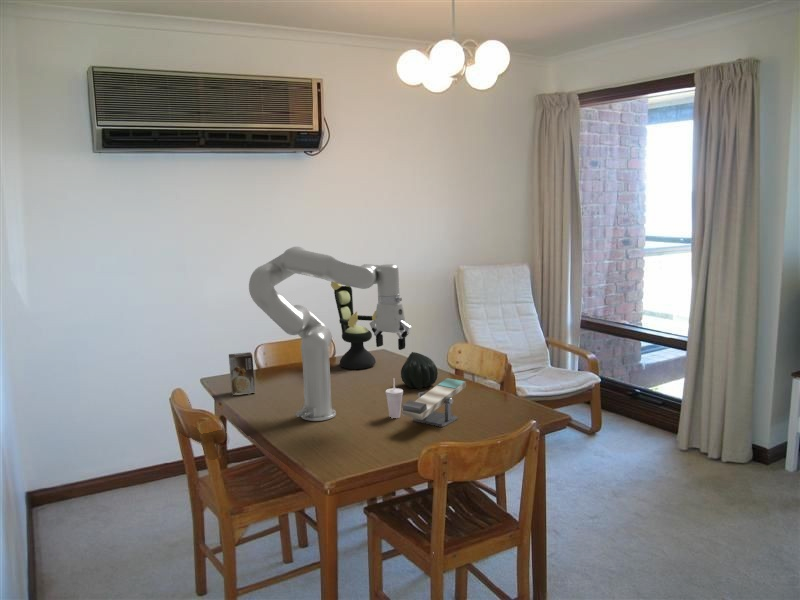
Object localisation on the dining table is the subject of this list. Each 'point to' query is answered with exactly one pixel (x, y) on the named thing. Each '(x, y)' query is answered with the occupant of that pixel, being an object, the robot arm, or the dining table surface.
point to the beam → (432, 399)
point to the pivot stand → (439, 414)
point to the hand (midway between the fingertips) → (390, 347)
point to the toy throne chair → (352, 330)
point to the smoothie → (394, 400)
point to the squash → (418, 371)
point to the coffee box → (241, 373)
